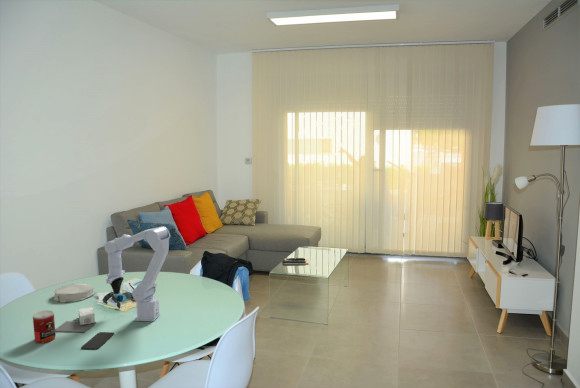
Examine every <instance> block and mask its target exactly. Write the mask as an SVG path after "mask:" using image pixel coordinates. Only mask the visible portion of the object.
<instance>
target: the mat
mask: <svg viewBox="0 0 580 388" xmlns="http://www.w3.org/2000/svg"><path fill="white" fill-rule="evenodd" d="M95 324H97V322H96V321H95V323H91V324H85V325H80V321H74V320H73V321H68V320H67V321H65V322H63V323H62V324H61V325H59V326H58V327H57V328H56V327H55V333H78V334H79V333H80V334H81V333H86V332H87V331H88V330H90V329H91V328H92V327H94V325H95Z"/></svg>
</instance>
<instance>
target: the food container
mask: <svg viewBox="0 0 580 388" xmlns="http://www.w3.org/2000/svg"><path fill="white" fill-rule="evenodd" d="M53 292H54V297H53V299H54V301H55V302H60V303H67V302H77V301H78V302H79V301H82V300H85V299H88V298H89V297H92V296H93V295H94V294H95V293H96V292H95V290H94V287H93V285H90V284H87V283H72V284H68V285H64V286H59V287H58V288H56V289H55V290H54V291H53Z"/></svg>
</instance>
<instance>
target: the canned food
mask: <svg viewBox="0 0 580 388" xmlns="http://www.w3.org/2000/svg"><path fill="white" fill-rule="evenodd" d="M32 324H33V325H32V326H33V334H34V340H35V342H36V343H37V344H44V343H45V344H46V343H49V342H52V341H53V340H55V338H56V332H55V329H56V326H55V325H56V321H55V313H54V310H39V311H38V312H35V313H33V314H32Z"/></svg>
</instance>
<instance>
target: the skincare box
mask: <svg viewBox="0 0 580 388" xmlns="http://www.w3.org/2000/svg"><path fill="white" fill-rule="evenodd" d="M78 319H79V322H80V325H85V324H91V323H95V322H96V321H95V311H94V309H93V306H88V307H82V308H78Z"/></svg>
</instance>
